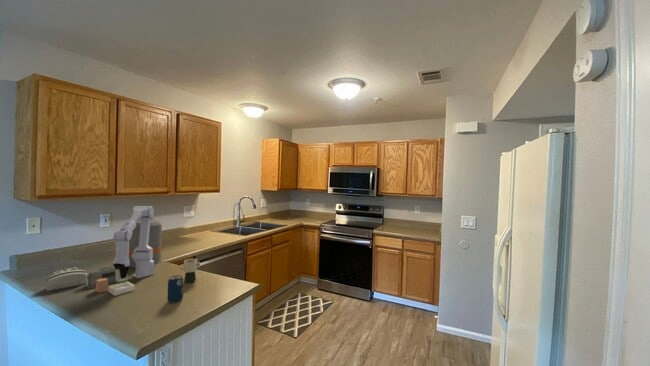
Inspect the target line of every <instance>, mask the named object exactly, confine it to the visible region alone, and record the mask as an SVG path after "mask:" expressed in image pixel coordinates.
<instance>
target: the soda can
mask: <svg viewBox="0 0 650 366" xmlns="http://www.w3.org/2000/svg"><path fill="white" fill-rule="evenodd" d="M183 298H184V278H183V276H182V275H180V274H177V275H172V276H169V279H168V281H167V302H168V303H169V304H176V303H180V302H181V301H182V300H183Z"/></svg>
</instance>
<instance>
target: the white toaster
mask: <svg viewBox="0 0 650 366" xmlns="http://www.w3.org/2000/svg"><path fill="white" fill-rule="evenodd" d="M72 270H80V269H79V268H78V267H76V266H75V265H74V266H72V267H70V268H66V267H64V268H63V269H62V270H60V269H57V271H53V275H54V274H57V273H61V272H65V271H72ZM88 272H89V271H88ZM88 272H87V271H86V274H87V276H88Z"/></svg>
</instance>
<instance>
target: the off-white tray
mask: <svg viewBox="0 0 650 366" xmlns="http://www.w3.org/2000/svg"><path fill="white" fill-rule="evenodd" d="M135 288H136V287H135V284H133V283H131V282H130V281H128V280H126V281H122V282H119V283H115V284H112V285H108V291H107V292H108V293H110V294H111V295H113V297H115V296H119V295H123V294H126V293H130V292H134V291H135Z"/></svg>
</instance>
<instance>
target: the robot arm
mask: <svg viewBox="0 0 650 366" xmlns="http://www.w3.org/2000/svg"><path fill="white" fill-rule="evenodd" d="M154 213H155V209H154V207H153V206H152V205H148V206H147V205H143V206H142V205H141V206H140V205H135V206H134V207H133V209H132V215H131V216H130V218H129V220H126V221H125V222H124V223H123V225H122V226H121V227H120V229H118V230H115V232H114V234H113V240H114V245H115V257H114V261H112V265H113V267H115V269H119V271H120V277H121V279H123V278H126V276H127V277H128V274H129V273H128V272H129V270H130V268H132V267H131V265H130V262H129V240H130V239H131V236H132V232H133V230H134V229H135V227H136V222H137V221H138V220H139V219H140V220H141V228H140V238H139V246H138V247H137V248H135V249H134V253H133V255H132V259H133V261H135V263H136V268H135V273H134V274H132V277H135V278H137V279H142V278H145V277H149V276H152V275H155V265H154V261H153V260H152V258H153V248H151V247H150V246H148V241H149V230H150V220H151V219H154V216H155V215H154ZM140 250H146V251H140Z"/></svg>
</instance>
